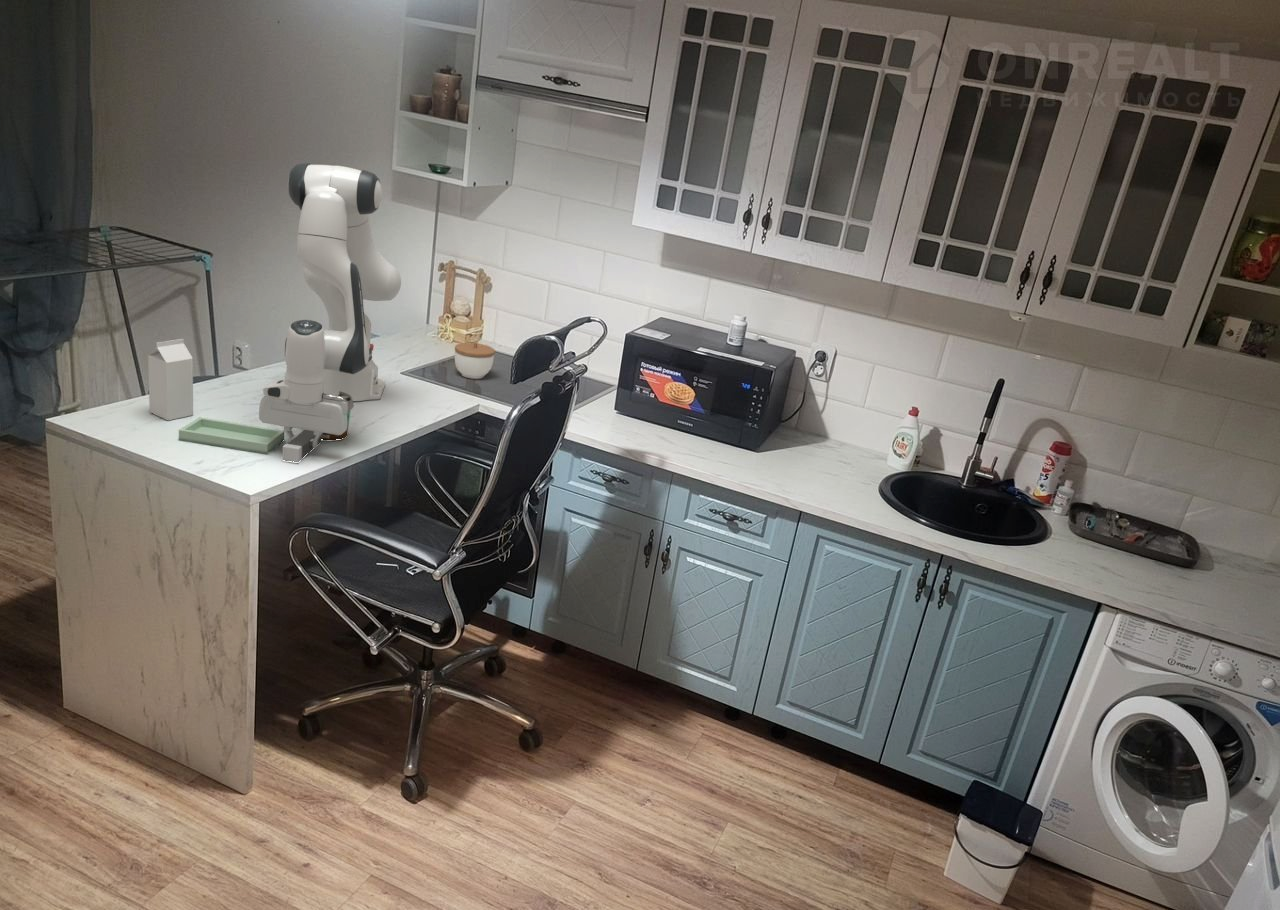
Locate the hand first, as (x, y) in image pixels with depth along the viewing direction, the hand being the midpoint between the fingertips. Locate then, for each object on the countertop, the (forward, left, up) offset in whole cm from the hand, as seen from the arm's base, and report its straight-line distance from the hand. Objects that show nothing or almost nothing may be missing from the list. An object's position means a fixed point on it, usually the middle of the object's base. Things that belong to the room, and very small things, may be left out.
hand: (302, 445), depth 228 cm
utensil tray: (0, -17, -2) cm, 17 cm away
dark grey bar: (0, 0, -2) cm, 2 cm away
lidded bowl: (-83, +23, -2) cm, 86 cm away
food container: (-13, +4, -2) cm, 14 cm away
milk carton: (-10, -37, -2) cm, 38 cm away
